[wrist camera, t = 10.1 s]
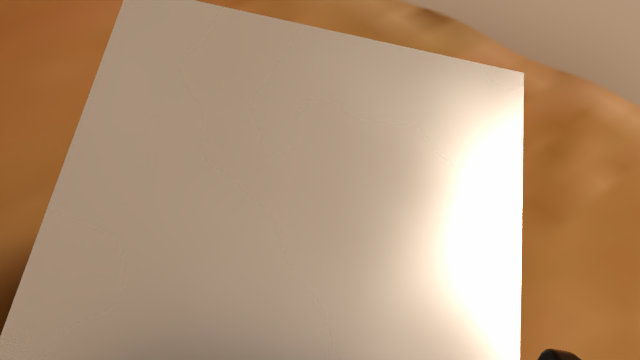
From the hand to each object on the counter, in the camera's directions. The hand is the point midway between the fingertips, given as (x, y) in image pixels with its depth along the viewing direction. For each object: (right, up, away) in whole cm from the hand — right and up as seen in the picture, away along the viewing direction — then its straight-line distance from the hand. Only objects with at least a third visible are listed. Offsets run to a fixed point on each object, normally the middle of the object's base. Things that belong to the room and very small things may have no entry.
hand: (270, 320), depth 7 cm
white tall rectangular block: (-1, -2, +8) cm, 8 cm away
